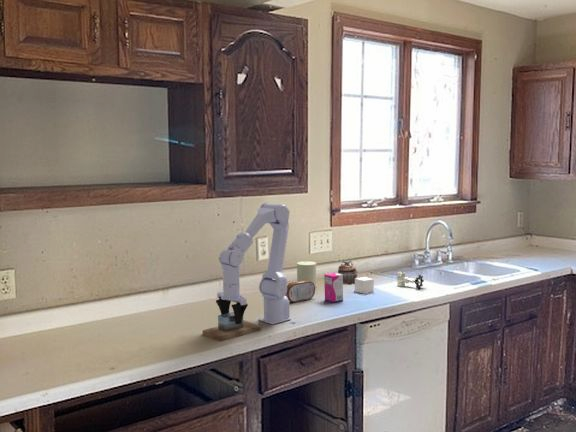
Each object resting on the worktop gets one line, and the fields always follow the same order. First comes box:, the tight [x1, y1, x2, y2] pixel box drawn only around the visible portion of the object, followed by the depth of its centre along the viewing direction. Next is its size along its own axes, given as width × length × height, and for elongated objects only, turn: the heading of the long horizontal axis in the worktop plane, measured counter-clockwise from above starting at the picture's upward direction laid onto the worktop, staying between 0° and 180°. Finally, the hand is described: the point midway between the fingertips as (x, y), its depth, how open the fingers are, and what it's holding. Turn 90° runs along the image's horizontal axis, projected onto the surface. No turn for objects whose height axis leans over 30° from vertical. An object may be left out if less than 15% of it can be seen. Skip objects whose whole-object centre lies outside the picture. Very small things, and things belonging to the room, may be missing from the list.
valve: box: [396, 271, 425, 290], centre depth 273 cm, size 7×7×12 cm
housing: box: [217, 311, 244, 332], centre depth 205 cm, size 4×8×5 cm, turn 132°
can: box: [296, 260, 317, 289], centre depth 273 cm, size 9×9×12 cm
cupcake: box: [337, 260, 359, 284], centre depth 285 cm, size 10×10×10 cm
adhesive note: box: [354, 276, 375, 294], centre depth 264 cm, size 6×6×6 cm
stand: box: [202, 319, 262, 342], centre depth 205 cm, size 18×10×2 cm, turn 132°
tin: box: [285, 280, 316, 303], centre depth 249 cm, size 15×3×8 cm, turn 126°
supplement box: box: [323, 272, 344, 304], centre depth 248 cm, size 6×6×12 cm
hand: (231, 321), depth 205 cm, fingers open, 7 cm apart
